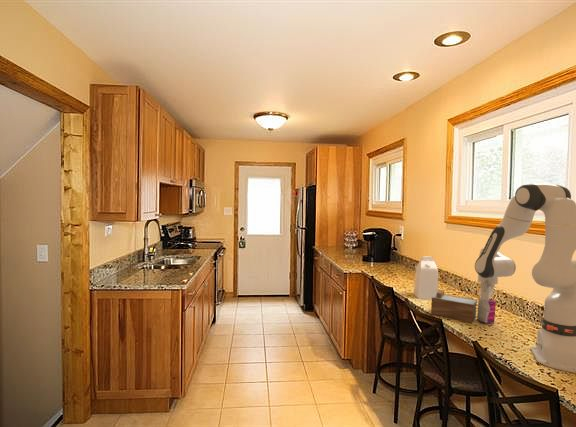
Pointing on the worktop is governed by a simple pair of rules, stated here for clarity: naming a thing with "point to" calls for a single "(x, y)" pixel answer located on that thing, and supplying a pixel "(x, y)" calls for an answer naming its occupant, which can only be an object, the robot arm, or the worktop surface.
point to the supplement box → (486, 312)
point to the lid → (453, 298)
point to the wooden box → (453, 309)
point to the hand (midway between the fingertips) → (486, 305)
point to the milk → (426, 278)
